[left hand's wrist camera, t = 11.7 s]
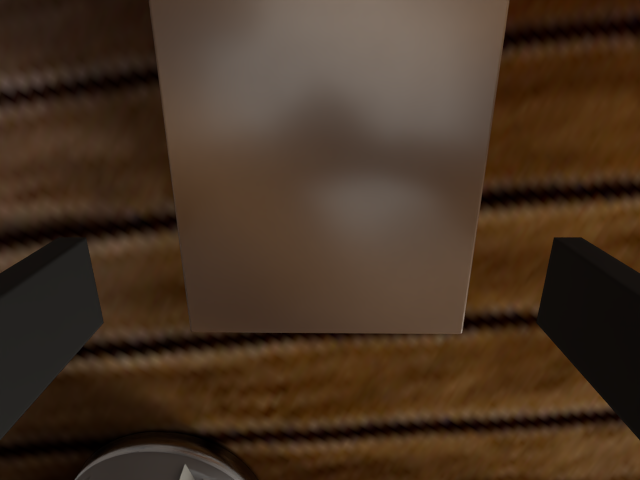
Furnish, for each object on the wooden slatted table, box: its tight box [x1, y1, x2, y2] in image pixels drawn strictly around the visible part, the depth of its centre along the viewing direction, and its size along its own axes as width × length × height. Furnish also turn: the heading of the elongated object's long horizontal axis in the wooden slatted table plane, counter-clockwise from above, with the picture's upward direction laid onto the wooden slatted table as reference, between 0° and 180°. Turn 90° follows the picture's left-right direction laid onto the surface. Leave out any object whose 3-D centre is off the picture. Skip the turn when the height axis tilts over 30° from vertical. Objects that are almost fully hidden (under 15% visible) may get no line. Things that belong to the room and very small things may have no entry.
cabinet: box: [149, 0, 509, 334], centre depth 18 cm, size 19×11×10 cm, turn 0°
